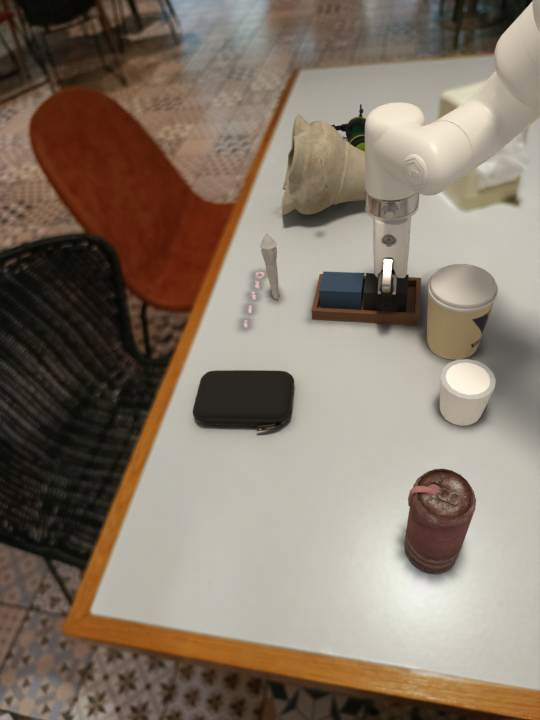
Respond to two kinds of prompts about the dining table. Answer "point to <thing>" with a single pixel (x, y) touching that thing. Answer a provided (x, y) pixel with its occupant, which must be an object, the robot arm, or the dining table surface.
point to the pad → (371, 292)
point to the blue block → (341, 290)
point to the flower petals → (254, 293)
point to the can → (438, 519)
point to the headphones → (355, 130)
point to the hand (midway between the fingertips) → (388, 290)
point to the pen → (271, 263)
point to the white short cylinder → (465, 391)
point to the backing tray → (373, 316)
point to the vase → (321, 169)
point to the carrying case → (244, 398)
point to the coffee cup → (458, 309)
